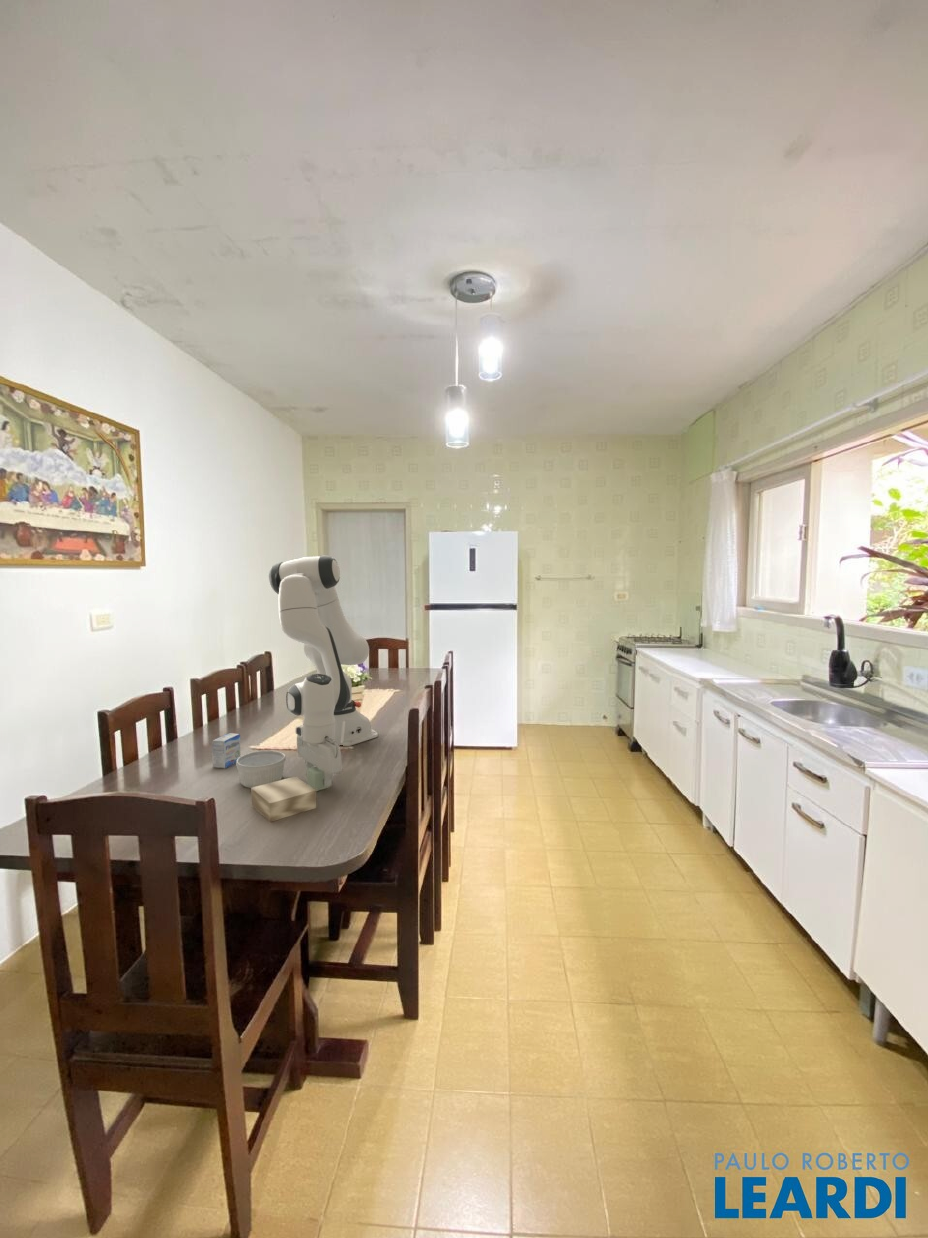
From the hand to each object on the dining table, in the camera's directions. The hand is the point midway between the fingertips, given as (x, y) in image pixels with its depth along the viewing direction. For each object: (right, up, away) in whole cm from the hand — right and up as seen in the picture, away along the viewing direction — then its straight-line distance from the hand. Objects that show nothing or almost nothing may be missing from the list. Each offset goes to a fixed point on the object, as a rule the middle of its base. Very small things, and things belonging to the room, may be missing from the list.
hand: (318, 780), depth 147 cm
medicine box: (-33, 0, +16) cm, 37 cm away
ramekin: (-18, -1, +3) cm, 18 cm away
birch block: (-5, -3, -13) cm, 14 cm away
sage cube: (0, -2, 0) cm, 2 cm away
